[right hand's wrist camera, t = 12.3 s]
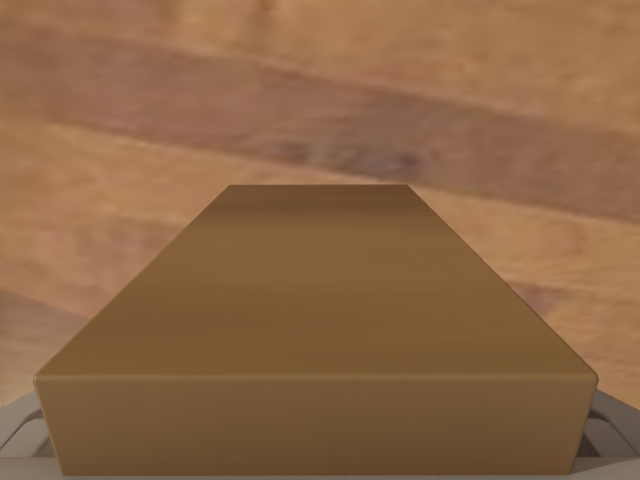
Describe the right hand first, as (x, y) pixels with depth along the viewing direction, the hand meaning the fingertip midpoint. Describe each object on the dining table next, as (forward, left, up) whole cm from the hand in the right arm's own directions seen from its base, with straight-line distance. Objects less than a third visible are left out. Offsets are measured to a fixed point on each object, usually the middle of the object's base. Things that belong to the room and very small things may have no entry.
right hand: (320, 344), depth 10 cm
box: (-8, -6, -5) cm, 11 cm away
